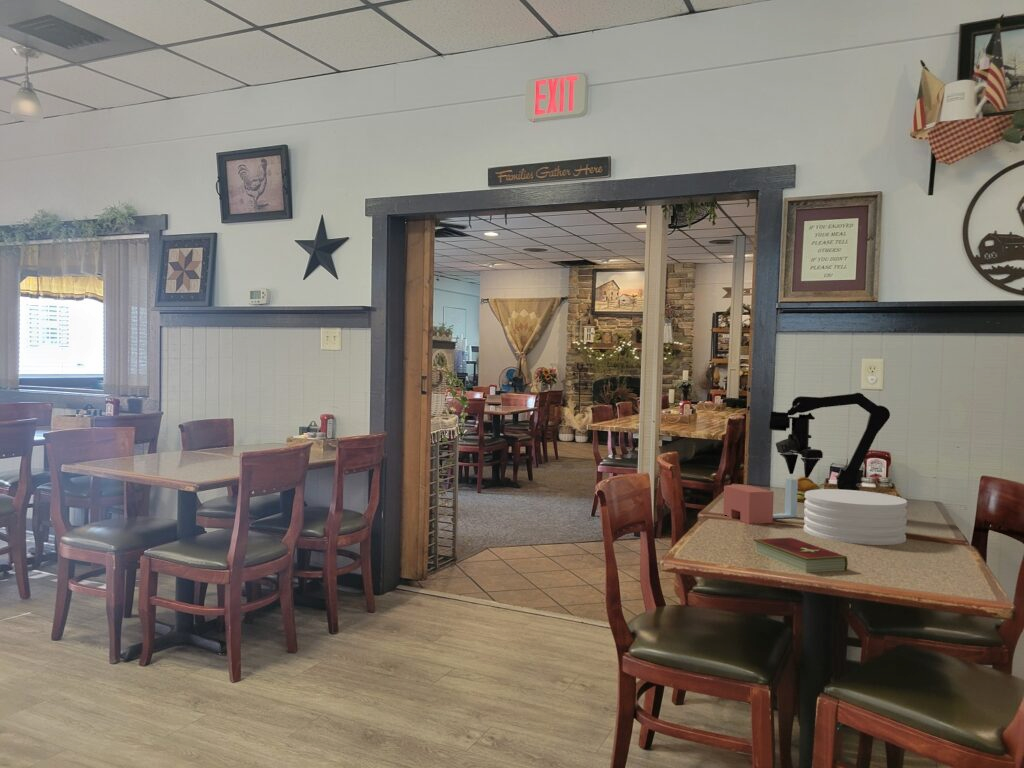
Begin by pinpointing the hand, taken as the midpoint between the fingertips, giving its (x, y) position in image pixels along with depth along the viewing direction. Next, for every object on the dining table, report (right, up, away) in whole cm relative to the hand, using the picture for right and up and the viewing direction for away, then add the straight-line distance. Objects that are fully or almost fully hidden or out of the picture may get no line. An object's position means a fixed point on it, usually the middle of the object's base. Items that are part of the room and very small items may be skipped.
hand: (798, 475), depth 262 cm
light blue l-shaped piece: (-13, -12, -16) cm, 24 cm away
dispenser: (-24, -12, -19) cm, 33 cm away
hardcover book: (-29, -13, -73) cm, 80 cm away
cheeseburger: (+9, -12, +20) cm, 25 cm away
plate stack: (+1, -13, -39) cm, 41 cm away
